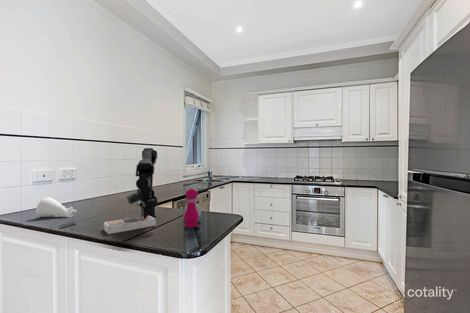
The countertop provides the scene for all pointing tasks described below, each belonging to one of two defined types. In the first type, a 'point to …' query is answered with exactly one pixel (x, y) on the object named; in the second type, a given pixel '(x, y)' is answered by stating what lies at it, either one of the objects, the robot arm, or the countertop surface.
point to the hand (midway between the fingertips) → (145, 218)
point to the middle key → (130, 219)
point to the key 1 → (114, 223)
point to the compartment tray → (129, 225)
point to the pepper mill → (191, 208)
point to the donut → (196, 209)
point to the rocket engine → (53, 209)
